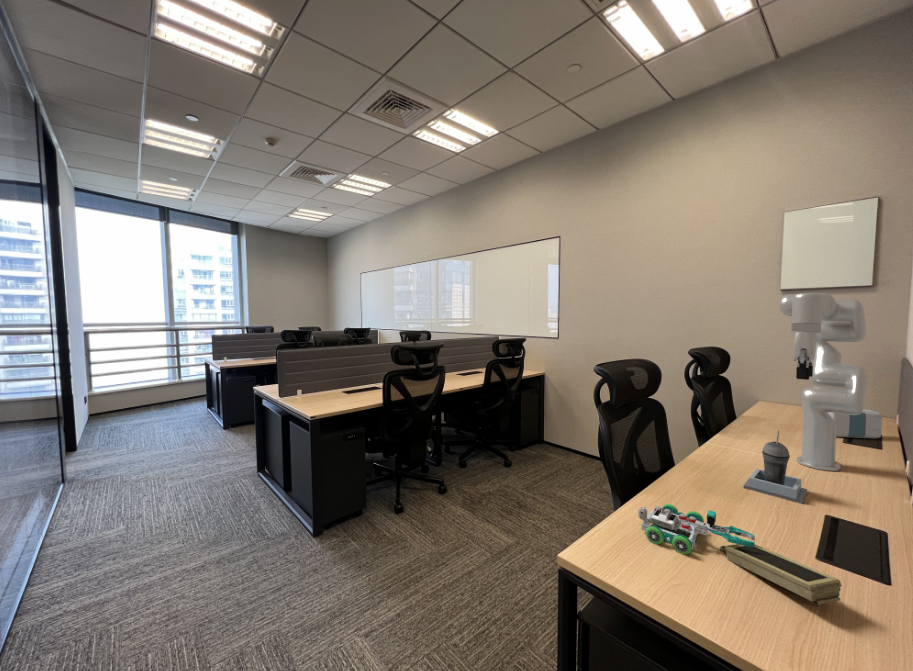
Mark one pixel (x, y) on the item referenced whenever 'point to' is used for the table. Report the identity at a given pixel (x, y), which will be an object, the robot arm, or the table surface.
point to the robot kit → (686, 528)
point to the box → (786, 573)
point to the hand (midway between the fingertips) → (804, 377)
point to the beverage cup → (775, 461)
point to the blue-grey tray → (777, 487)
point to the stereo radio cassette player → (858, 424)
